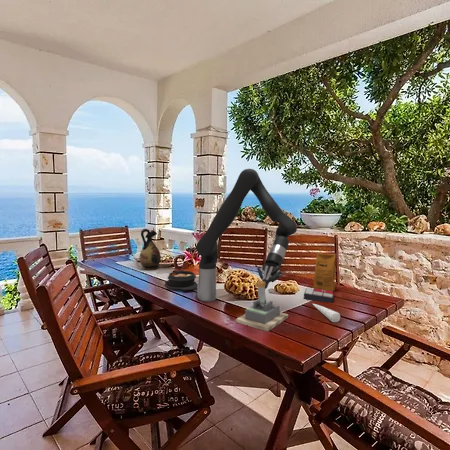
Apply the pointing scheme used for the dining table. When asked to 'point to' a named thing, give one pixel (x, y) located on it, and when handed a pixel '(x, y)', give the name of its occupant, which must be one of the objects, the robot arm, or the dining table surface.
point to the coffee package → (325, 272)
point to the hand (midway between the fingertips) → (263, 288)
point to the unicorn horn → (328, 313)
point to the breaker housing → (262, 312)
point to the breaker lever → (261, 293)
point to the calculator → (319, 295)
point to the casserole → (181, 280)
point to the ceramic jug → (149, 252)
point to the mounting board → (264, 327)
